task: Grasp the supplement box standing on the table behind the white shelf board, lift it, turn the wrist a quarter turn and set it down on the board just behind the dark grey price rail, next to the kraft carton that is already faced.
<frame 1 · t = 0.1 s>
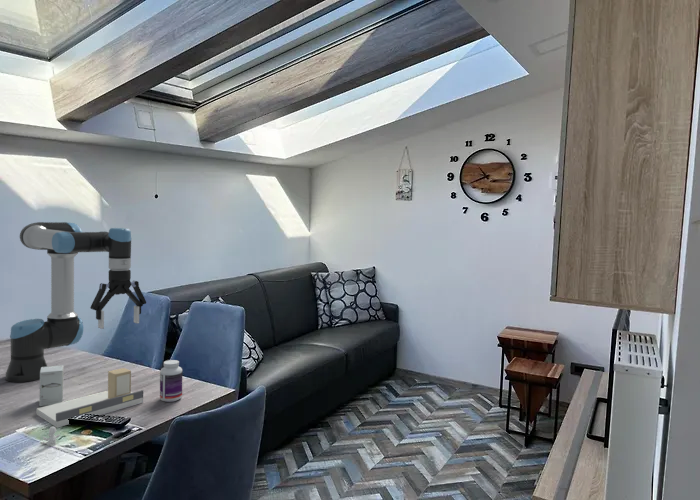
hand: (119, 325, 187), 28 cm above the table, fingers open, 13 cm apart
figurine: (51, 446, 150), on the table
pill bottle: (170, 399, 190), on the table
shelf: (92, 408, 178), on the table
carton: (119, 397, 184), point 2 cm above the table, touching shelf
supplement box: (51, 402, 183), on the table
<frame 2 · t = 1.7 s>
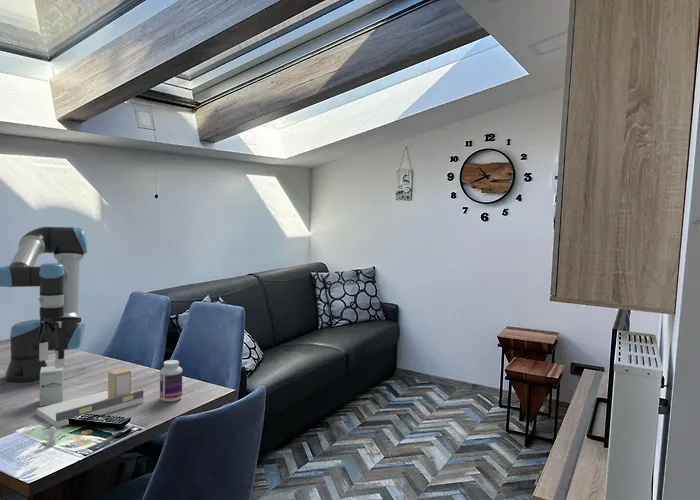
hand: (51, 363, 181), 14 cm above the table, fingers open, 13 cm apart
nothing on the table moved.
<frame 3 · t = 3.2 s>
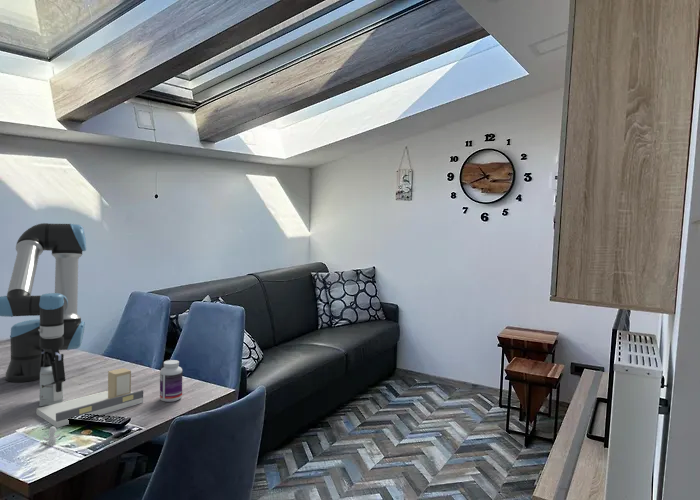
hand: (51, 396, 182), 2 cm above the table, fingers closed on supplement box, 9 cm apart
supplement box: (51, 402, 183), on the table, touching gripper
everything else where it was.
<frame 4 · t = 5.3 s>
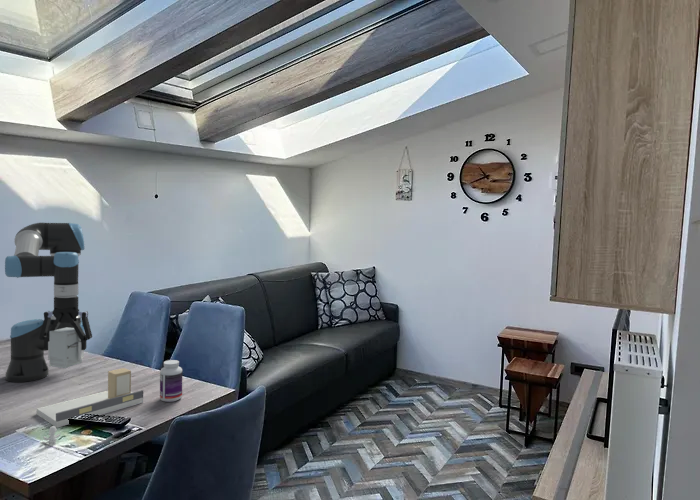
hand: (66, 359, 176), 18 cm above the table, fingers closed on supplement box, 9 cm apart
supplement box: (66, 365, 176), point 16 cm above the table, touching gripper
everything else where it was.
when the fingers open (5 cm above the table, at t = 7.6 s): supplement box drops 1 cm, resting on shelf.
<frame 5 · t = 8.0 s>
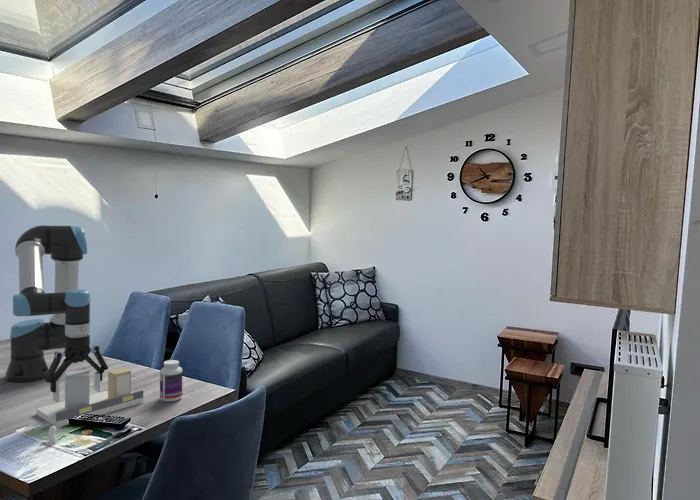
hand: (77, 395, 172), 7 cm above the table, fingers open, 13 cm apart
supplement box: (77, 409, 172), point 2 cm above the table, touching shelf
everything else where it was.
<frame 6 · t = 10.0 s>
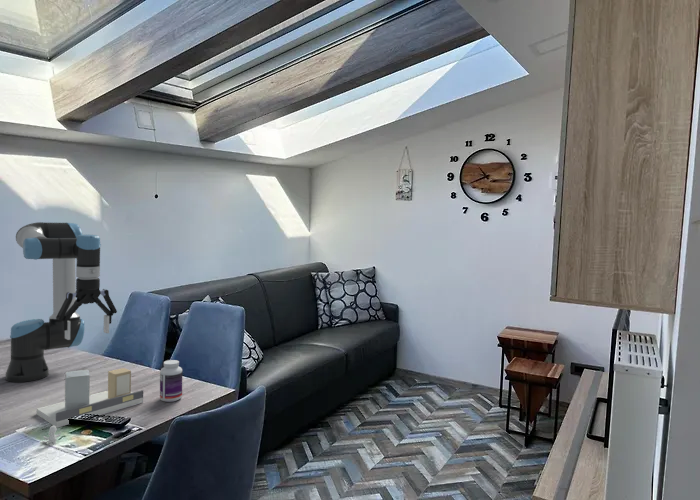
hand: (87, 335, 180), 25 cm above the table, fingers open, 13 cm apart
nothing on the table moved.
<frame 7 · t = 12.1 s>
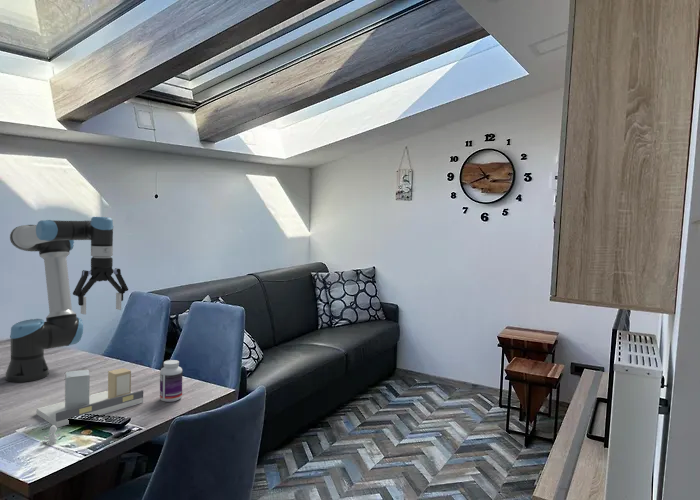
hand: (101, 311, 193), 32 cm above the table, fingers open, 13 cm apart
nothing on the table moved.
at the end: supplement box inside the target area (0.3 cm from its centre), point 1.8 cm above the table; supplement box tilted 0°; the gripper is holding nothing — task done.
